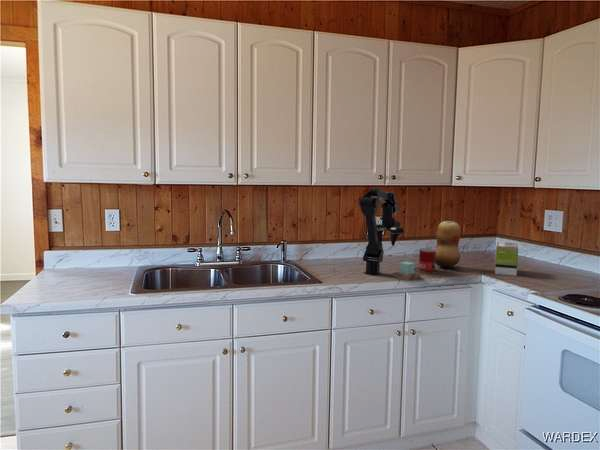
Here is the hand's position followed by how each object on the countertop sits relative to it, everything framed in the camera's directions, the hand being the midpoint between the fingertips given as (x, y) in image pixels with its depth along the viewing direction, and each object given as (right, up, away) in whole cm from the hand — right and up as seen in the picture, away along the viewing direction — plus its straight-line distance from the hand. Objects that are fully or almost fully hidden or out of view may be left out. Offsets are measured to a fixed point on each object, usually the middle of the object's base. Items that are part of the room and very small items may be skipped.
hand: (386, 244), depth 221 cm
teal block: (+5, -13, -22) cm, 26 cm away
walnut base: (+5, -15, -22) cm, 27 cm away
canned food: (+20, -13, -5) cm, 25 cm away
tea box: (+60, -14, -8) cm, 62 cm away
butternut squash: (+33, -13, +2) cm, 35 cm away
